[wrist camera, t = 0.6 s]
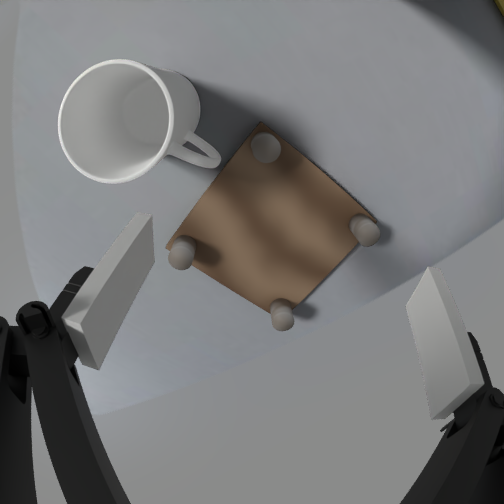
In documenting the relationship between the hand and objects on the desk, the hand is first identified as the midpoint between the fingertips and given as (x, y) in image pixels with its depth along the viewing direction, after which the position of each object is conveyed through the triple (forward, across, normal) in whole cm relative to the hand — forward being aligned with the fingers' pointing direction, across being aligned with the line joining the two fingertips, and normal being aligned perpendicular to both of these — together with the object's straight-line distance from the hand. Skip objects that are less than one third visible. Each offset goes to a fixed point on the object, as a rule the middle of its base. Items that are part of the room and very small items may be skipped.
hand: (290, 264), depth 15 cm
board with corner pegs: (+17, 0, -9) cm, 20 cm away
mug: (+18, -12, +1) cm, 21 cm away
